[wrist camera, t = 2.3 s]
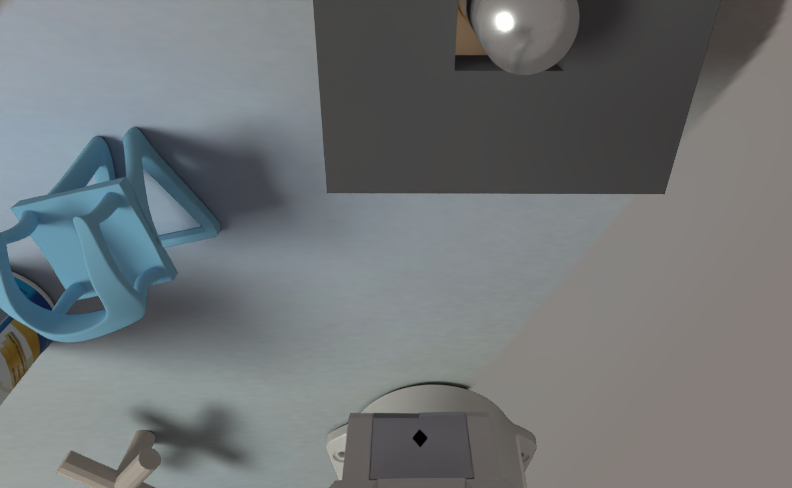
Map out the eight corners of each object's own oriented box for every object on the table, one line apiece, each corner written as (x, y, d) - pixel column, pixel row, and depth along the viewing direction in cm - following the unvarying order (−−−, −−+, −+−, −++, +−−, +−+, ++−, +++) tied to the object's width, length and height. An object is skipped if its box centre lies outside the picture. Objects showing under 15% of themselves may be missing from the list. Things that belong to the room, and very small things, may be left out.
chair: (170, 117, 34) (72, 208, 24) (222, 230, 38) (158, 348, 28) (59, 144, 35) (-82, 242, 25) (122, 251, 39) (24, 372, 29)
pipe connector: (221, 433, 49) (184, 543, 41) (168, 484, 53) (124, 594, 45) (118, 381, 46) (55, 489, 37) (69, 440, 50) (2, 550, 41)
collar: (641, 169, 25) (664, 193, 23) (333, 168, 25) (327, 192, 23) (746, -237, 17) (795, -257, 15) (307, -237, 17) (294, -257, 15)
